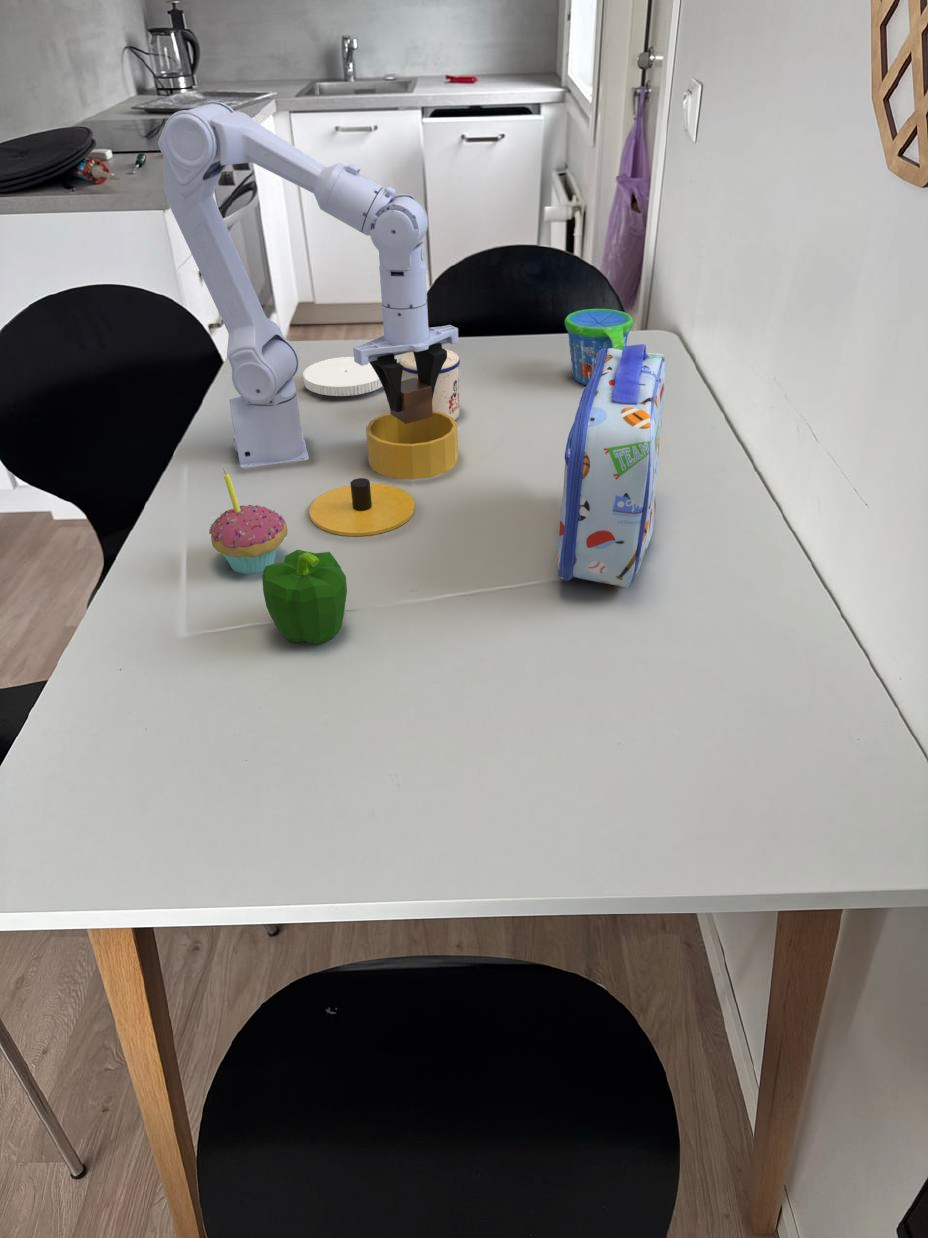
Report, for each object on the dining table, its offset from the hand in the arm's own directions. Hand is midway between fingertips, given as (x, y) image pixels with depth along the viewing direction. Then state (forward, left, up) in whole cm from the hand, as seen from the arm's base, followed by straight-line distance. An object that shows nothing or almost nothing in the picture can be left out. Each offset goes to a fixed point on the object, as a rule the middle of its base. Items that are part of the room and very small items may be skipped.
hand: (410, 405), depth 127 cm
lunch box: (+18, -28, -9) cm, 34 cm away
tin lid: (-9, -13, -8) cm, 18 cm away
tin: (0, 0, -8) cm, 8 cm away
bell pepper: (-18, -37, -9) cm, 42 cm away
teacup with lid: (+6, +17, -9) cm, 20 cm away
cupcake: (-23, -22, -9) cm, 33 cm away
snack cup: (+35, +23, -9) cm, 43 cm away
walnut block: (0, 0, -1) cm, 1 cm away
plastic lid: (-5, +32, -9) cm, 34 cm away
